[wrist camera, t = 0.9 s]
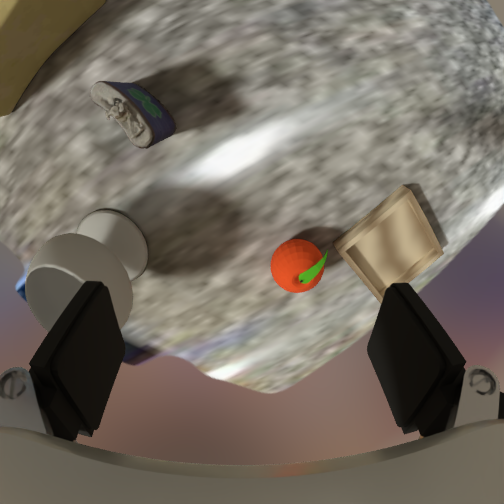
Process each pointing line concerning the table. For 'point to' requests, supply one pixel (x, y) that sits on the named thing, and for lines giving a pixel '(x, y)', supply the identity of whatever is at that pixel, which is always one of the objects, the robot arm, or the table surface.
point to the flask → (134, 112)
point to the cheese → (34, 39)
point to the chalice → (87, 266)
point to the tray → (390, 243)
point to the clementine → (297, 265)
